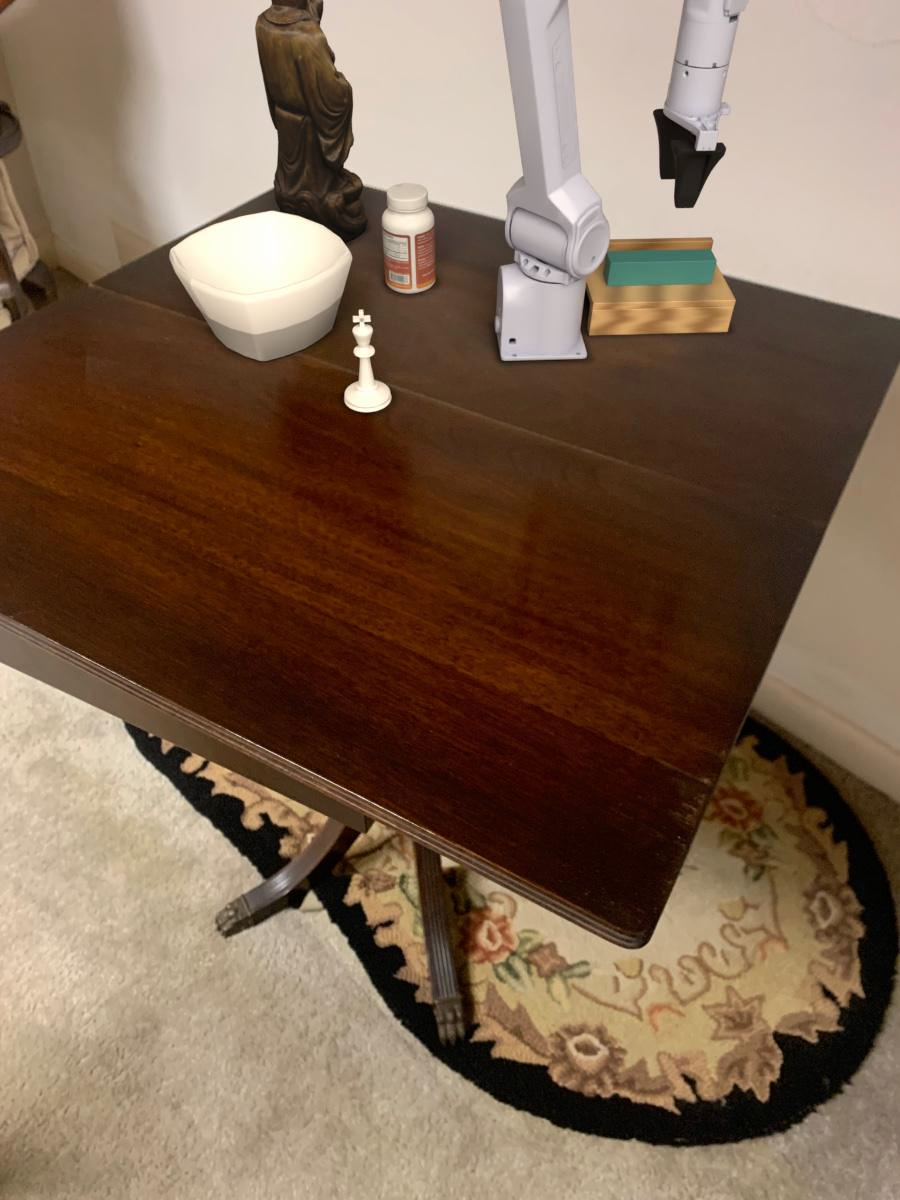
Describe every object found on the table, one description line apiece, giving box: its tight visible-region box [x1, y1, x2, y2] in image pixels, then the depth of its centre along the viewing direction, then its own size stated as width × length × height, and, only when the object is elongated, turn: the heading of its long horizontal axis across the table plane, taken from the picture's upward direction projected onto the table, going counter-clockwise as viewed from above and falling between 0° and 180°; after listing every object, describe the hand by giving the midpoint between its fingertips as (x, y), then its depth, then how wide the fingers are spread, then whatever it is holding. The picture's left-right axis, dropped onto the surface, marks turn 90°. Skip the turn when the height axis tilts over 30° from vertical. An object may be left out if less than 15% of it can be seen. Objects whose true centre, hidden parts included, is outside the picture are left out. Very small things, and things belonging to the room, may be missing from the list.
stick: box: [603, 249, 718, 286], centre depth 100 cm, size 12×3×3 cm, turn 93°
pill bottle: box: [381, 182, 437, 295], centre depth 104 cm, size 6×6×11 cm
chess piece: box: [343, 309, 392, 413], centre depth 88 cm, size 5×5×10 cm
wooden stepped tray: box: [585, 236, 737, 336], centre depth 103 cm, size 16×12×6 cm
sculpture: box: [254, 0, 368, 243], centre depth 108 cm, size 12×13×30 cm
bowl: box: [168, 210, 353, 362], centre depth 98 cm, size 18×18×9 cm
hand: (676, 192), depth 102 cm, fingers open, 7 cm apart
